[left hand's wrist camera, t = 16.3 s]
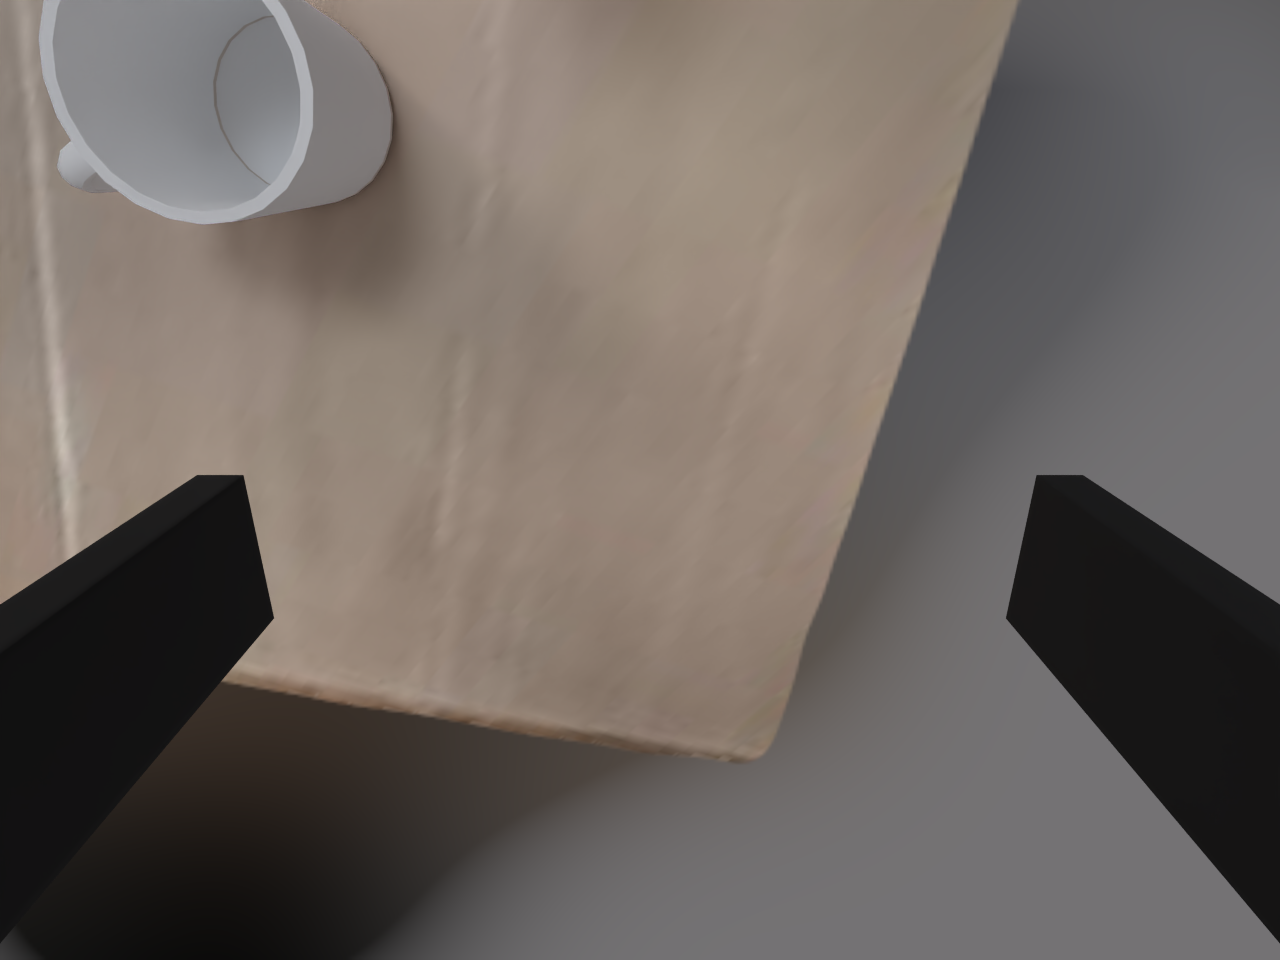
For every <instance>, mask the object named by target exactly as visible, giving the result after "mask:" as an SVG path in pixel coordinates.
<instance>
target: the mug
mask: <svg viewBox="0 0 1280 960" xmlns="http://www.w3.org/2000/svg"><path fill="white" fill-rule="evenodd" d="M39 46H40V54H41V63H42V72H43V78H44V81H45V84H46V87H47V90H48V93H49V96H50V99H51V102H52V104H53V107H54V110H55V113H56V116H57V118H58V119H59V121H60V123H61V124H62V126H63V128H64V129H65V131H66V133H67V135H68V136H69V138H70V140H71V141H70V142H69V143H68V144H67V145H66V146H65V147H64V148H63V149H61V150H60V155H59V159H58V164H57V168H58V170H59V172H60V174H61V177H62V178H63V179H64V180H66V181H67V182H68V183H69V184H70V185H71V186H74V187H76V188H79V189H81V190H84V191H87V192H90V193H100V192H117V191H119V192H120V193H121V194H123V195H124V196H125V197H127V198H128V199H129V200H131V201H132V202H134V203H135V204H137V205H139V206H141V207H144V208H146V209H148V210H150V211H153V212H155V213H157V214H159V215H162V216H164V217H166V218H168V219H174V220H179V221H185V222H191V223H196V224H202V225H204V224H215V223H225V222H236V221H242V220H247V219H253V218H258V217H263V216H268V215H273V214H278V213H283V212H289V211H294V210H299V209H304V208H309V207H314V206H319V205H324V204H330V203H335V202H339V201H341V200H344V199H346V198H349V197H351V196H353V195H356V194H358V193H359V192H360V191H361V190H362V189H363V188H365V187H366V186H367V185H368V184H369V183H371V182H372V181H373V180H374V178H375V177H376V175H377V174H378V172H379V171H380V169H381V167H382V166H383V164H384V163H385V161H386V157H387V154H388V151H389V148H390V144H391V141H392V128H393V112H392V107H391V101H390V96H389V91H388V88H387V86H386V83H385V81H384V79H383V76H382V74H381V72H380V70H379V67H378V65H377V63H376V62H375V61H374V59H373V58H372V57H371V55H370V54H369V53H368V51H367V50H366V49H365V47H364V46H363V44H362V43H361V42H360V41H359V40H358V39H356V38H355V37H354V36H353V35H352V34H351V33H349V32H348V31H347V30H346V29H345V28H344V27H342V26H341V25H340V24H338V23H337V22H335V21H334V20H332V19H331V18H329V17H328V16H326V15H325V14H323V13H322V12H320V11H319V10H318V9H316V8H315V7H313V6H312V5H310V4H309V3H307V2H306V1H304V0H44V2H43V9H42V16H41V24H40V31H39Z"/></svg>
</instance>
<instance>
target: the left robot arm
mask: <svg viewBox="0 0 1280 960" xmlns="http://www.w3.org/2000/svg"><path fill="white" fill-rule="evenodd" d="M273 619H274V616H273V611H272V607H271V602H270V597H269V592H268V588H267V583H266V578H265V574H264V569H263V564H262V560H261V555H260V550H259V546H258V541H257V536H256V532H255V527H254V522H253V518H252V513H251V508H250V504H249V499H248V494H247V490H246V485H245V480H244V476H243V475H197V476H195V477H194V478H192V479H191V480H189V481H188V482H186V483H184V484H183V485H181V486H180V487H178V488H177V489H175V490H174V491H172V492H171V493H169V494H168V495H166V496H165V497H163V498H162V499H160V500H159V501H157V502H156V503H154V504H153V505H151V506H149V507H148V508H146V509H145V510H143V511H142V512H140V513H139V514H137V515H136V516H134V517H133V518H131V519H130V520H128V521H127V522H125V523H124V524H122V525H121V526H119V527H118V528H116V529H114V530H113V531H111V532H110V533H108V534H107V535H105V536H104V537H102V538H101V539H99V540H98V541H96V542H95V543H93V544H92V545H90V546H89V547H87V548H86V549H84V550H83V551H81V552H79V553H78V554H76V555H75V556H73V557H72V558H70V559H69V560H67V561H66V562H64V563H63V564H61V565H60V566H58V567H57V568H55V569H54V570H52V571H51V572H49V573H48V574H46V575H45V576H43V577H41V578H40V579H38V580H37V581H35V582H34V583H32V584H31V585H29V586H28V587H26V588H25V589H23V590H22V591H20V592H19V593H17V594H16V595H14V596H13V597H11V598H10V599H8V600H6V601H5V602H3V603H2V604H0V943H1V942H2V940H3V939H4V938H5V937H6V936H7V934H8V933H9V932H10V931H11V930H12V929H13V927H14V926H15V925H16V924H17V923H18V922H19V920H20V919H21V918H22V917H23V916H24V914H25V913H26V912H27V911H28V910H29V908H30V907H31V906H32V905H33V904H34V903H35V901H36V900H37V899H38V898H39V897H40V895H41V894H42V893H43V892H44V891H45V889H46V888H47V887H48V886H49V885H50V883H51V882H52V881H53V880H54V879H55V878H56V876H57V875H58V874H59V873H60V872H61V870H62V869H63V868H64V867H65V866H66V864H67V863H68V862H69V861H70V860H71V859H72V857H73V856H74V855H75V854H76V853H77V851H78V850H79V849H80V848H81V847H82V845H83V844H84V843H85V842H86V841H87V840H88V838H89V837H90V836H91V835H92V834H93V833H94V831H95V830H96V829H97V828H98V827H99V825H100V824H101V823H102V822H103V821H104V819H105V818H106V817H107V816H108V815H109V813H110V812H111V811H112V810H113V809H114V808H115V806H116V805H117V804H118V803H119V802H120V800H121V799H122V798H123V797H124V796H125V795H126V793H127V792H128V791H129V790H130V789H131V787H132V786H133V785H134V784H135V783H136V781H137V780H138V779H139V778H140V777H141V776H142V774H143V773H144V772H145V771H146V770H147V768H148V767H149V766H150V765H151V764H152V763H153V761H154V760H155V759H156V758H157V757H158V755H159V754H160V753H161V752H162V751H163V749H164V748H165V747H166V746H167V745H168V744H169V742H170V741H171V740H172V739H173V738H174V736H175V735H176V734H177V733H178V732H179V730H180V729H181V728H182V727H183V726H184V725H185V723H186V722H187V721H188V720H189V719H190V717H191V716H192V715H193V714H194V713H195V711H196V710H197V709H198V708H199V707H200V705H201V704H202V703H203V702H204V701H205V700H206V698H207V697H208V696H209V695H210V694H211V692H212V691H213V690H214V689H215V688H216V687H217V685H218V684H219V683H220V682H221V681H222V679H223V678H224V677H225V676H226V675H227V674H228V672H229V671H230V670H231V669H232V668H233V666H234V665H235V664H236V663H237V662H238V660H239V659H240V658H241V657H242V656H243V655H244V653H245V652H246V651H247V650H248V649H249V647H250V646H251V645H252V644H253V643H254V641H255V640H256V639H257V638H258V637H259V636H260V634H261V633H262V632H263V631H264V630H265V628H266V627H267V626H268V625H269V624H270V622H271V621H272V620H273ZM1006 619H1007V620H1008V621H1009V622H1010V624H1011V625H1012V626H1013V627H1014V628H1015V629H1016V631H1017V632H1018V633H1019V634H1020V635H1021V637H1022V638H1023V639H1024V640H1025V641H1026V643H1027V644H1028V645H1029V646H1030V647H1031V649H1032V650H1033V651H1034V652H1035V653H1036V655H1037V656H1038V657H1039V658H1040V659H1041V660H1042V662H1043V663H1044V664H1045V665H1046V666H1047V668H1048V669H1049V670H1050V671H1051V672H1052V674H1053V675H1054V676H1055V677H1056V678H1057V679H1058V681H1059V682H1060V683H1061V684H1062V685H1063V687H1064V688H1065V689H1066V690H1067V691H1068V692H1069V694H1070V695H1071V696H1072V697H1073V698H1074V700H1075V701H1076V702H1077V703H1078V704H1079V706H1080V707H1081V708H1082V709H1083V710H1084V711H1085V713H1086V714H1087V715H1088V716H1089V717H1090V719H1091V720H1092V721H1093V722H1094V723H1095V724H1096V726H1097V727H1098V728H1099V729H1100V730H1101V732H1102V733H1103V734H1104V735H1105V736H1106V738H1107V739H1108V740H1109V741H1110V742H1111V744H1112V745H1113V746H1114V747H1115V748H1116V749H1117V751H1118V752H1119V753H1120V754H1121V755H1122V756H1123V758H1124V759H1125V760H1126V761H1127V762H1128V764H1129V765H1130V766H1131V767H1132V768H1133V770H1134V771H1135V772H1136V773H1137V774H1138V776H1139V777H1140V778H1141V779H1142V780H1143V781H1144V783H1145V784H1146V785H1147V786H1148V787H1149V789H1150V790H1151V791H1152V792H1153V793H1154V795H1155V796H1156V797H1157V798H1158V799H1159V800H1160V802H1161V803H1162V804H1163V805H1164V806H1165V808H1166V809H1167V810H1168V811H1169V812H1170V814H1171V815H1172V816H1173V817H1174V818H1175V819H1176V821H1177V822H1178V823H1179V824H1180V825H1181V827H1182V828H1183V829H1184V830H1185V831H1186V833H1187V834H1188V835H1189V836H1190V837H1191V838H1192V840H1193V841H1194V842H1195V843H1196V844H1197V846H1198V847H1199V848H1200V849H1201V850H1202V851H1203V853H1204V854H1205V855H1206V856H1207V857H1208V859H1209V860H1210V861H1211V862H1212V863H1213V865H1214V866H1215V867H1216V868H1217V869H1218V870H1219V872H1220V873H1221V874H1222V875H1223V876H1224V878H1225V879H1226V880H1227V881H1228V882H1229V884H1230V885H1231V886H1232V887H1233V888H1234V889H1235V891H1236V892H1237V893H1238V894H1239V895H1240V897H1241V898H1242V899H1243V900H1244V901H1245V902H1246V904H1247V905H1248V906H1249V907H1250V908H1251V910H1252V911H1253V912H1254V913H1255V914H1256V916H1257V917H1258V918H1259V919H1260V920H1261V922H1262V923H1263V924H1264V925H1265V926H1266V927H1267V929H1268V930H1269V931H1270V932H1271V933H1272V935H1273V936H1274V937H1275V938H1276V939H1277V940H1278V942H1279V943H1280V604H1278V603H1277V602H1275V601H1274V600H1272V599H1270V598H1269V597H1267V596H1266V595H1264V594H1263V593H1261V592H1260V591H1258V590H1257V589H1255V588H1254V587H1252V586H1251V585H1249V584H1248V583H1246V582H1245V581H1243V580H1242V579H1240V578H1239V577H1237V576H1235V575H1234V574H1232V573H1231V572H1229V571H1228V570H1226V569H1225V568H1223V567H1222V566H1220V565H1219V564H1217V563H1216V562H1214V561H1213V560H1211V559H1210V558H1208V557H1206V556H1205V555H1204V554H1202V553H1200V552H1199V551H1197V550H1196V549H1194V548H1193V547H1191V546H1190V545H1188V544H1187V543H1185V542H1184V541H1182V540H1181V539H1179V538H1178V537H1176V536H1175V535H1173V534H1172V533H1170V532H1169V531H1167V530H1166V529H1164V528H1162V527H1161V526H1159V525H1158V524H1156V523H1155V522H1153V521H1152V520H1150V519H1149V518H1147V517H1146V516H1144V515H1143V514H1141V513H1140V512H1138V511H1137V510H1135V509H1134V508H1132V507H1131V506H1129V505H1127V504H1126V503H1124V502H1123V501H1121V500H1120V499H1118V498H1117V497H1115V496H1114V495H1112V494H1111V493H1109V492H1108V491H1106V490H1105V489H1103V488H1102V487H1100V486H1099V485H1097V484H1096V483H1094V482H1092V481H1091V480H1089V479H1088V478H1086V477H1085V476H1083V475H1037V476H1036V481H1035V485H1034V490H1033V494H1032V499H1031V504H1030V508H1029V513H1028V518H1027V522H1026V527H1025V532H1024V537H1023V541H1022V546H1021V550H1020V555H1019V560H1018V564H1017V569H1016V574H1015V578H1014V583H1013V588H1012V593H1011V597H1010V602H1009V607H1008V611H1007V616H1006Z"/></svg>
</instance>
